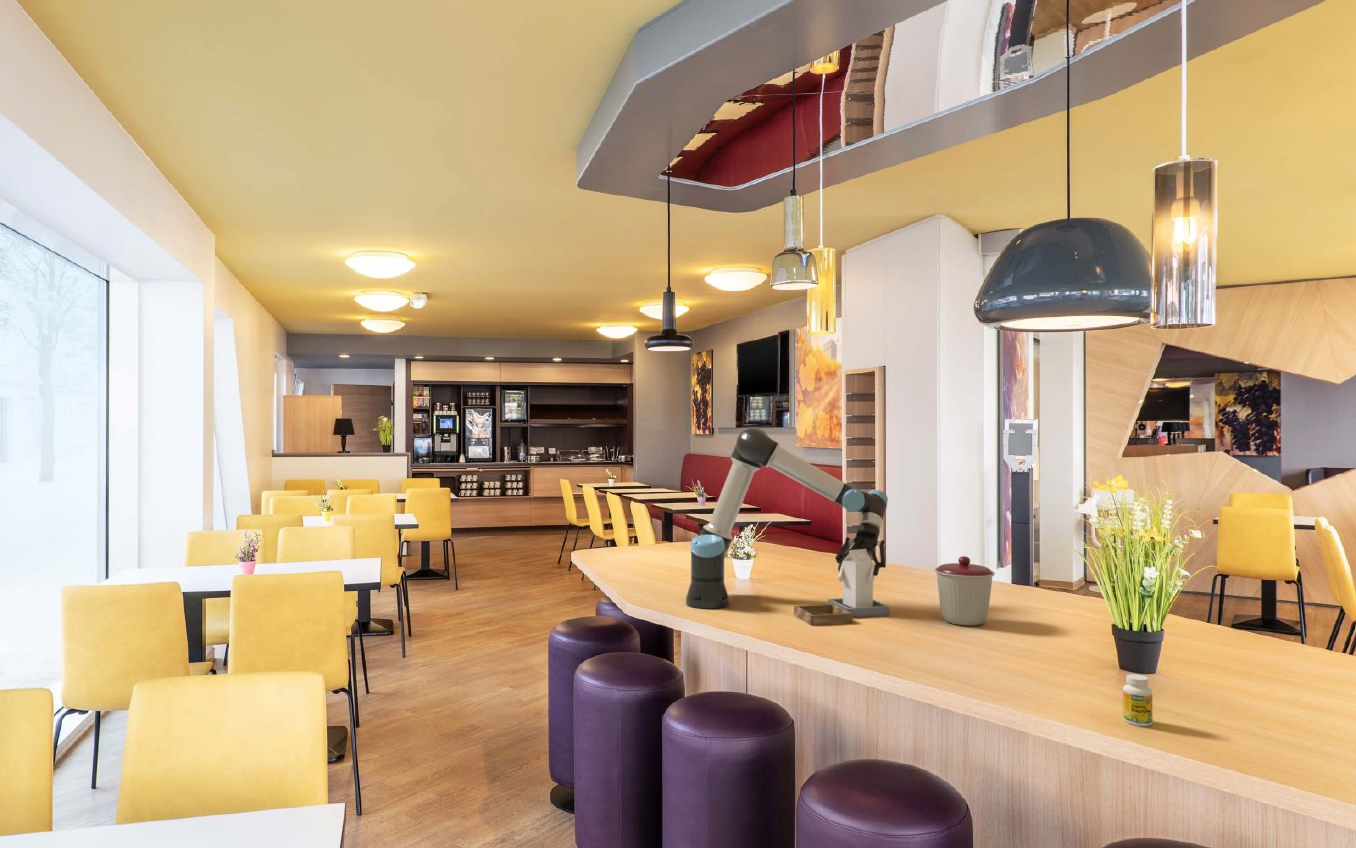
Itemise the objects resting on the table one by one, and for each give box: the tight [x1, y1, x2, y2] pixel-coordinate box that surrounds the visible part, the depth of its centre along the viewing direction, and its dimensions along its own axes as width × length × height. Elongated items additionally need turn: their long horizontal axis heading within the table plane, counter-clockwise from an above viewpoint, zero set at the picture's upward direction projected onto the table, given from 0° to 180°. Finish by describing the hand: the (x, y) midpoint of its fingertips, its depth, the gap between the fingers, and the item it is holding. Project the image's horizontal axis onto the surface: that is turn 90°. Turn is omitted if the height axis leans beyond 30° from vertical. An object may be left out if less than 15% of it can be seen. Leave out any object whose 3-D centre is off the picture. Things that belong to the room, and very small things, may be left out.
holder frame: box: [793, 603, 853, 626], centre depth 257 cm, size 14×14×3 cm
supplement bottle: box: [1122, 673, 1154, 728], centre depth 167 cm, size 5×5×10 cm
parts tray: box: [827, 597, 890, 619], centre depth 268 cm, size 15×15×3 cm
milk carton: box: [842, 549, 874, 608], centre depth 268 cm, size 7×7×19 cm
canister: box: [934, 555, 995, 627], centre depth 254 cm, size 18×18×21 cm
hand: (855, 581), depth 265 cm, fingers closed on milk carton, 10 cm apart
